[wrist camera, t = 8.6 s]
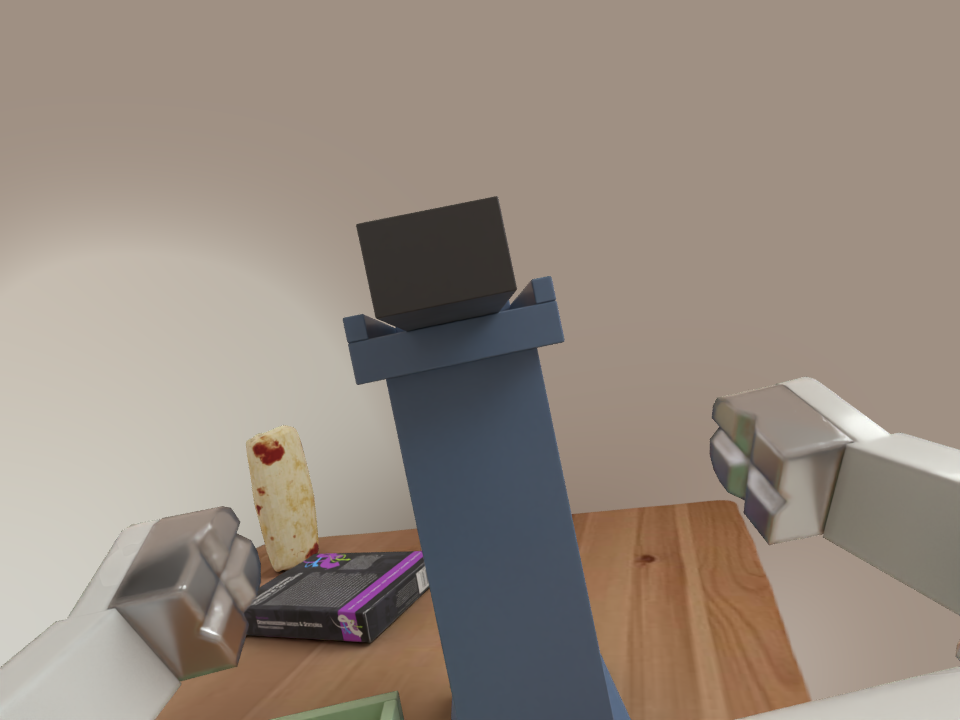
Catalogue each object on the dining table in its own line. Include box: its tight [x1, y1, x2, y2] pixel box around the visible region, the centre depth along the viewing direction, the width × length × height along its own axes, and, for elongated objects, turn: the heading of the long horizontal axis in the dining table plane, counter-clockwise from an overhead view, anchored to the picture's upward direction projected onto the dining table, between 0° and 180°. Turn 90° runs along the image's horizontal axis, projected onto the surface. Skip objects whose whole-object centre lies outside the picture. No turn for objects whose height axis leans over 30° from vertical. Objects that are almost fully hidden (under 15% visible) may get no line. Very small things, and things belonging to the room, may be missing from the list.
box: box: [243, 551, 429, 643], centre depth 57 cm, size 14×4×20 cm
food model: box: [246, 425, 318, 572], centre depth 74 cm, size 10×7×20 cm
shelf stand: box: [343, 276, 631, 720], centre depth 31 cm, size 14×11×28 cm
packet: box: [356, 196, 517, 331], centre depth 25 cm, size 18×4×3 cm, turn 2°
